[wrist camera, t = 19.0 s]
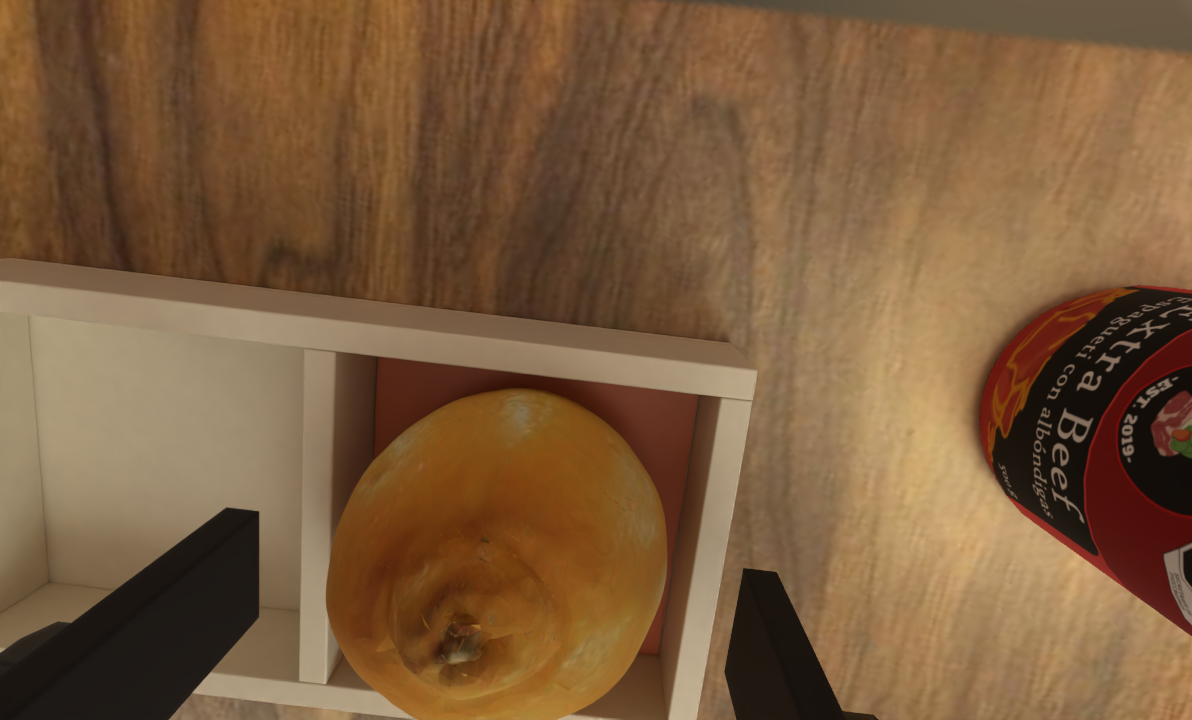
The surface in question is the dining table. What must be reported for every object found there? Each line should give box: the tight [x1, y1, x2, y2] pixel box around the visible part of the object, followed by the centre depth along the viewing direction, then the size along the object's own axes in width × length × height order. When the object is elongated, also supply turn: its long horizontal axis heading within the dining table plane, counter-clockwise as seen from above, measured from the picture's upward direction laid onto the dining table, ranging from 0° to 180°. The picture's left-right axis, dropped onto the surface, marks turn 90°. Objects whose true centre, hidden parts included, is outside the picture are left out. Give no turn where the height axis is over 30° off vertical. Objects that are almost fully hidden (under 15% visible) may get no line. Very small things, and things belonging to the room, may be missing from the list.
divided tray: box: [0, 258, 758, 720], centre depth 18 cm, size 11×21×4 cm, turn 83°
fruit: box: [326, 388, 667, 720], centre depth 16 cm, size 8×8×8 cm
